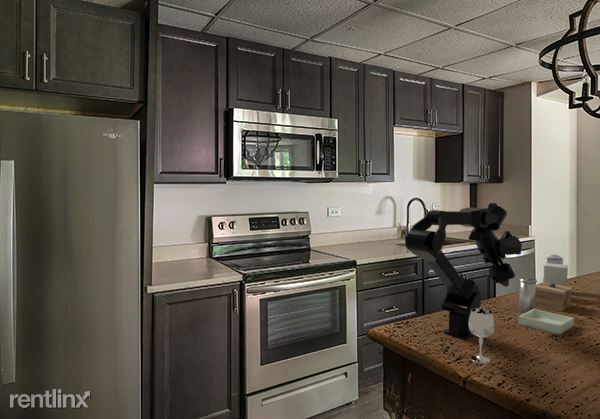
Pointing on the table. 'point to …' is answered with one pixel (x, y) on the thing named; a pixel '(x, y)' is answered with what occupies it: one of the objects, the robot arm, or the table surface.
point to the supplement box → (555, 274)
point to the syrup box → (553, 259)
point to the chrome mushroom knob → (527, 294)
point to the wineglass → (481, 329)
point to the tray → (546, 321)
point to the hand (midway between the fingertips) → (502, 275)
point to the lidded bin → (553, 296)
